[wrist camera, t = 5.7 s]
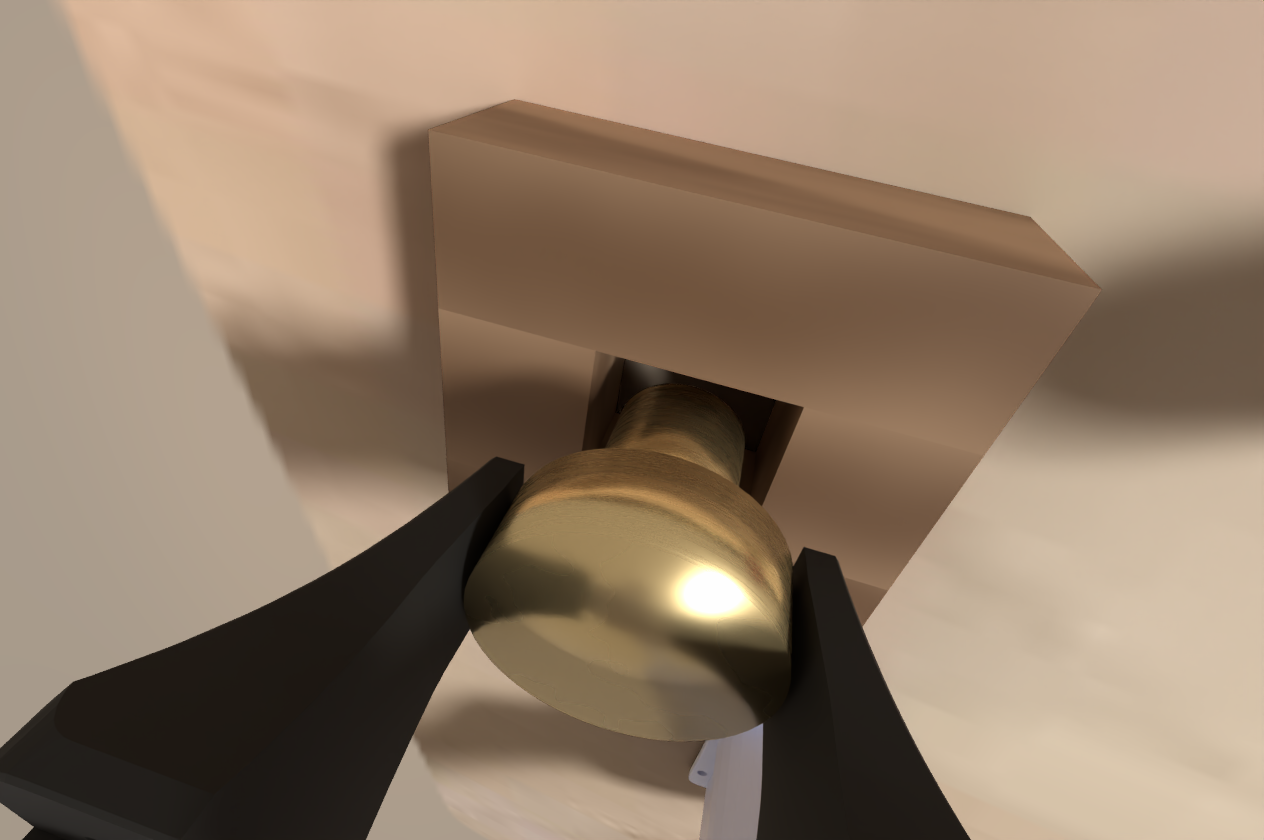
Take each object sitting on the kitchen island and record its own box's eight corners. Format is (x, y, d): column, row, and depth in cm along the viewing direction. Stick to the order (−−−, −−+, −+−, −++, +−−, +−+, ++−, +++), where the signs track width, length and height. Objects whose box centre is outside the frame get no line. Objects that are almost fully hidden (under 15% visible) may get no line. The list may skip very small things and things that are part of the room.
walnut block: (830, 561, 20) (834, 666, 17) (504, 464, 21) (451, 546, 18) (1030, 216, 13) (1101, 289, 10) (514, 99, 14) (427, 129, 11)
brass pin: (754, 543, 16) (732, 772, 11) (561, 484, 16) (463, 680, 12) (834, 378, 13) (850, 610, 8) (587, 308, 13) (463, 488, 8)
